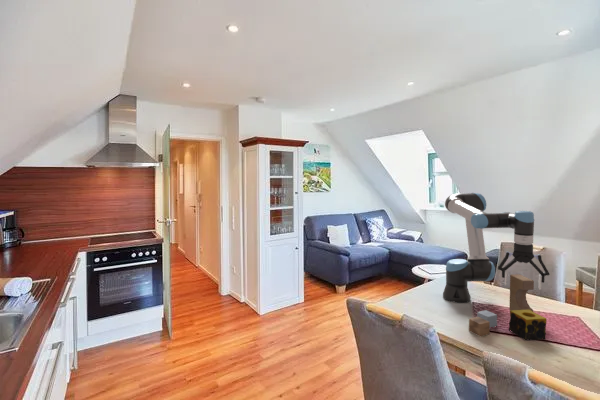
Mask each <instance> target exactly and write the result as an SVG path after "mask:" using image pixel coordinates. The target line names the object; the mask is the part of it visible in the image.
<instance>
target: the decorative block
mask: <svg viewBox="0 0 600 400" xmlns="http://www.w3.org/2000/svg"><path fill="white" fill-rule="evenodd" d="M534 284H535V281H534V279H533V280H532V279H531V278H529V277H526V276H524V275H522V274H520V273H518V274H510V277H509V311H510V310H531V311H533V312H534V309H533V308H532V307H530V305H529V303H528V300H527V292H528V291H533V290H534V289H535V288H534V287H535V285H534Z"/></svg>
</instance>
